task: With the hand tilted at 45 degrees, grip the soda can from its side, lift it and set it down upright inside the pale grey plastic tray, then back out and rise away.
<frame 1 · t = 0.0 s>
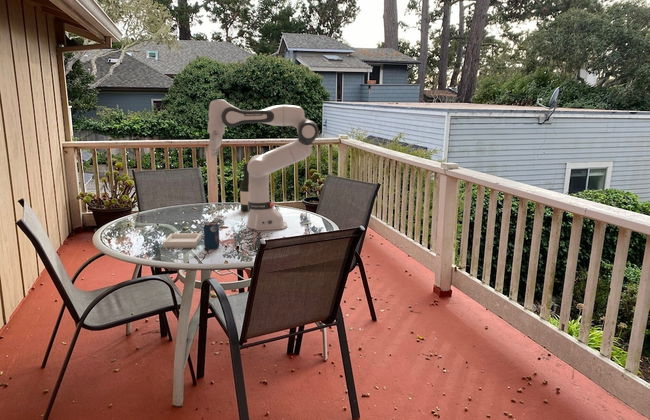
hand: (214, 156, 263), 39 cm above the table, fingers open, 8 cm apart
tray: (183, 243, 240), on the table
wine bottle: (247, 210, 314), on the table
soda can: (212, 248, 233), on the table
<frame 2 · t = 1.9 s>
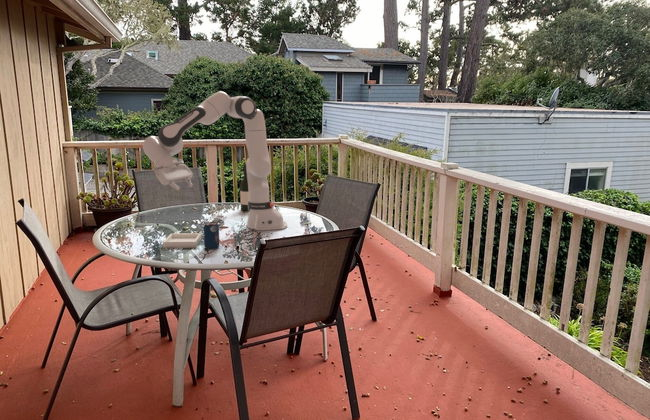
hand: (185, 187, 233), 28 cm above the table, fingers open, 8 cm apart
nothing on the table moved.
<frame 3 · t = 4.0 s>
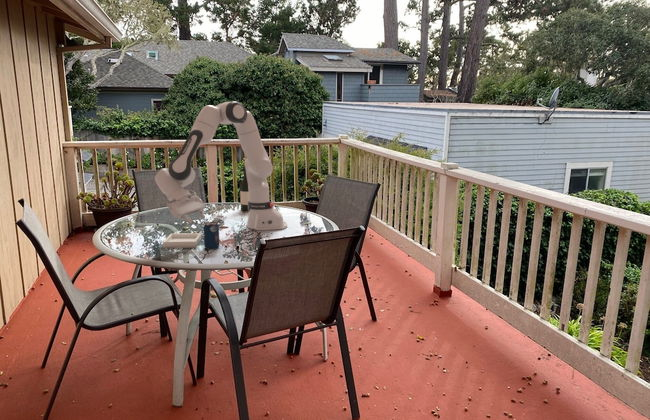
hand: (197, 220, 233), 13 cm above the table, fingers open, 8 cm apart
nothing on the table moved.
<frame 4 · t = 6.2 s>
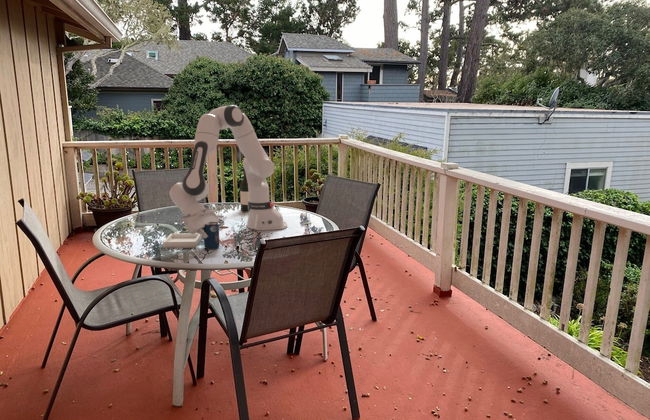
hand: (212, 235, 232), 6 cm above the table, fingers closed on soda can, 7 cm apart
soda can: (212, 248, 233), on the table, touching gripper
everything else where it was.
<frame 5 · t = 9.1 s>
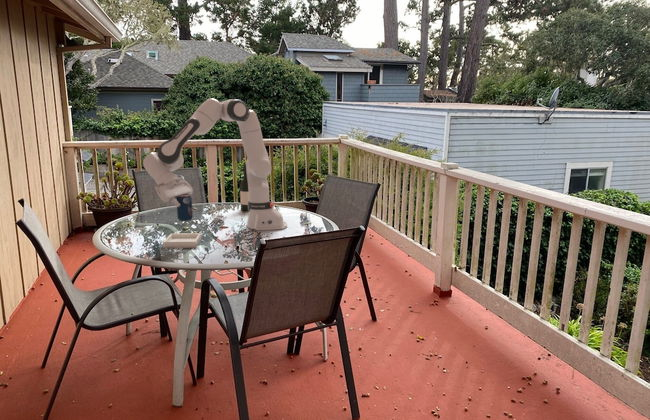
hand: (185, 204, 234), 20 cm above the table, fingers closed on soda can, 7 cm apart
soda can: (185, 220, 236), point 12 cm above the table, touching gripper
everything else where it was.
when the fingers open (9 cm above the table, at t = 12.3 s): soda can stays where it is, resting on tray.
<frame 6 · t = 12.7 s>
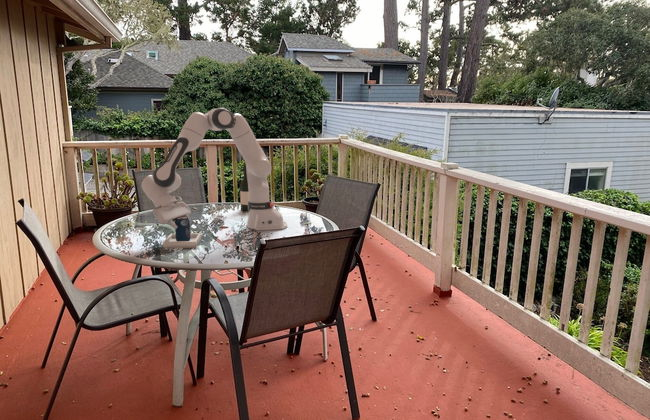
hand: (183, 225, 238), 9 cm above the table, fingers open, 8 cm apart
soda can: (183, 241, 240), point 1 cm above the table, touching tray
everything else where it was.
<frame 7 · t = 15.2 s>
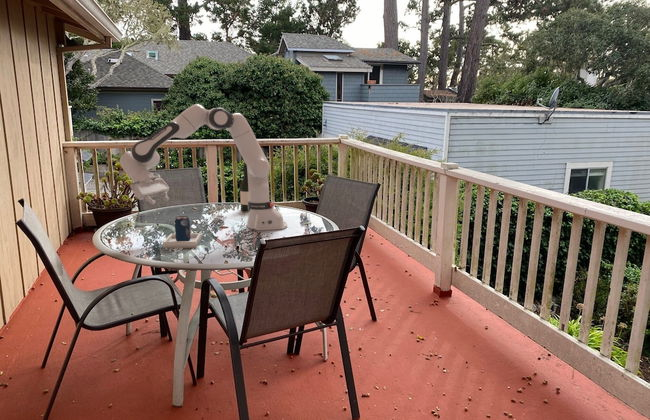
hand: (161, 201, 240), 19 cm above the table, fingers open, 8 cm apart
nothing on the table moved.
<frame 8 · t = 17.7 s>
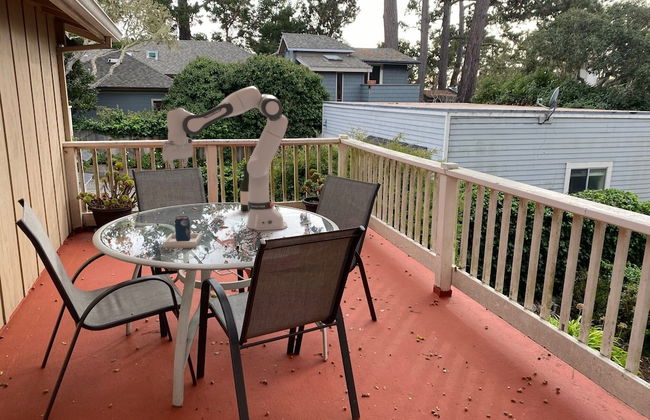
hand: (178, 167, 254), 34 cm above the table, fingers open, 8 cm apart
nothing on the table moved.
at the end: soda can inside the target area on the tray (0.1 cm from its centre), point 0.8 cm above the tray's base; soda can tilted 0°; the gripper is holding nothing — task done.
